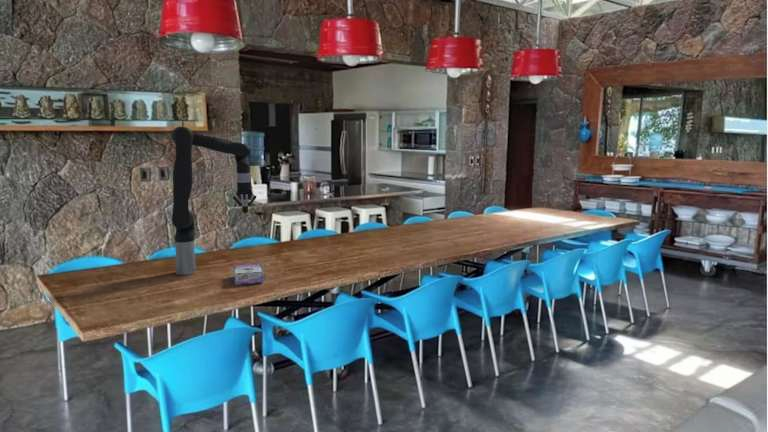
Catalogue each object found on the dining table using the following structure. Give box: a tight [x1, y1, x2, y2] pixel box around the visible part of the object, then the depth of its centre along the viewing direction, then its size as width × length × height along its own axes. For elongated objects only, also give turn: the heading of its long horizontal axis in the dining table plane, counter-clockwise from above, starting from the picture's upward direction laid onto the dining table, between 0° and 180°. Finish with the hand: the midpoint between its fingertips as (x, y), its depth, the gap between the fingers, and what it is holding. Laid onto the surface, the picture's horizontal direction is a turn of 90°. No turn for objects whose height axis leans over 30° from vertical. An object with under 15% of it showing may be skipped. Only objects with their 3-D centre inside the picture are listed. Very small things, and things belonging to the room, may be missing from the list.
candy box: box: [233, 263, 264, 286], centre depth 266 cm, size 14×6×16 cm
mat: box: [226, 275, 266, 283], centre depth 268 cm, size 18×8×1 cm, turn 99°
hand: (245, 213), depth 291 cm, fingers closed
